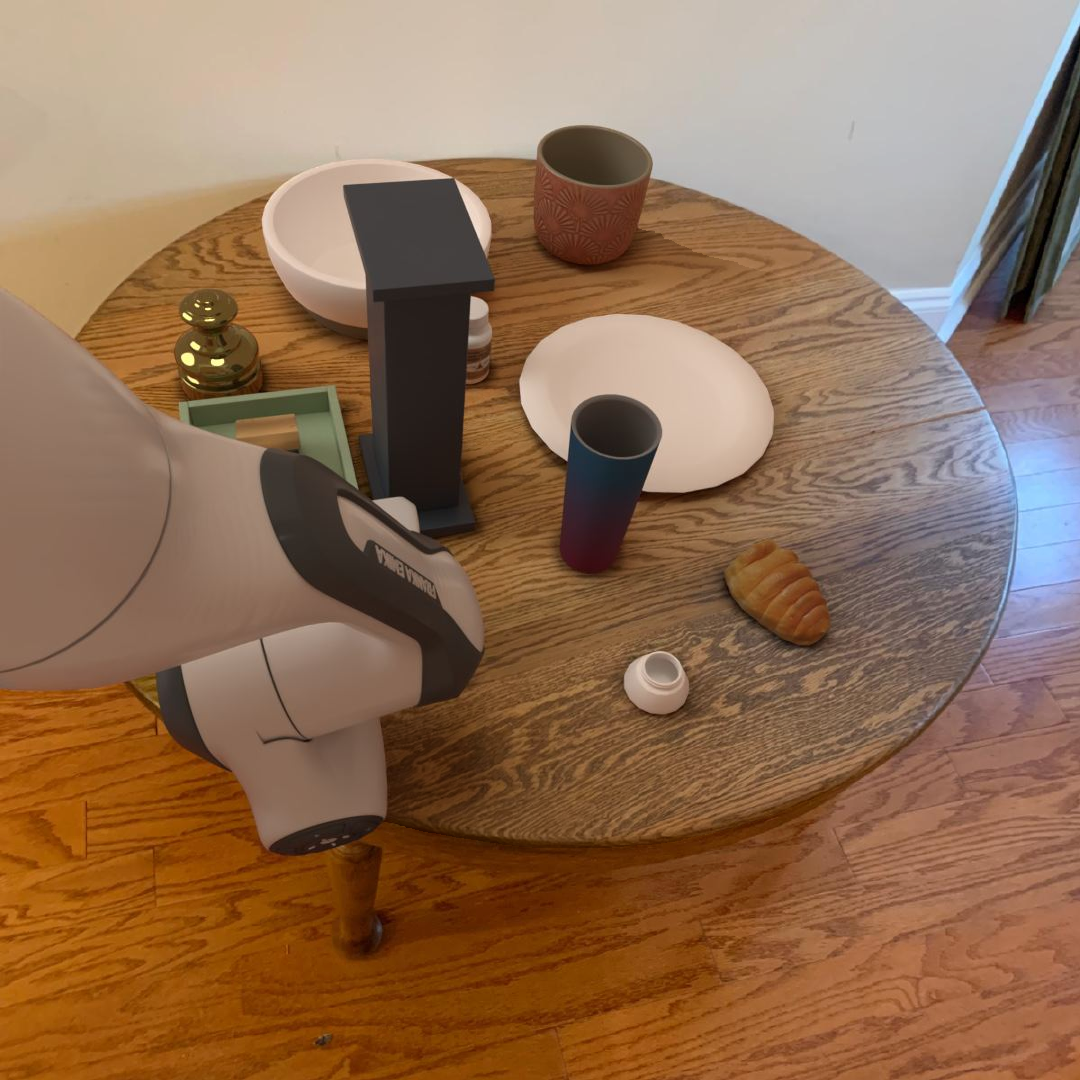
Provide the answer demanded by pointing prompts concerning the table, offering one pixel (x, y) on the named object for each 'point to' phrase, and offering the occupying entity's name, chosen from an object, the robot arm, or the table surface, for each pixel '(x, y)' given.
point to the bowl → (337, 237)
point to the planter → (589, 192)
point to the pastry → (779, 593)
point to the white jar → (656, 683)
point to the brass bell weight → (216, 348)
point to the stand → (418, 341)
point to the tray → (309, 405)
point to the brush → (270, 432)
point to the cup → (605, 477)
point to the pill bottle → (478, 342)
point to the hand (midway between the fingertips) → (274, 480)
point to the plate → (654, 394)
